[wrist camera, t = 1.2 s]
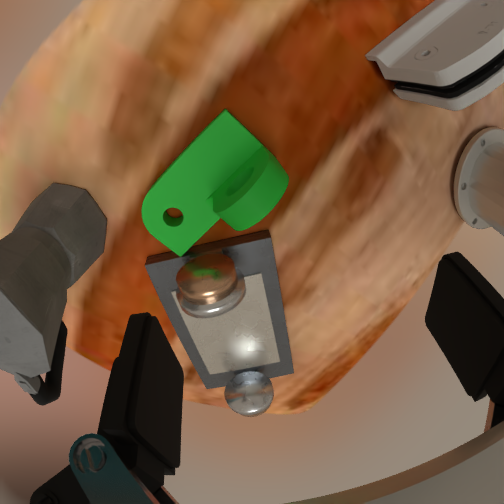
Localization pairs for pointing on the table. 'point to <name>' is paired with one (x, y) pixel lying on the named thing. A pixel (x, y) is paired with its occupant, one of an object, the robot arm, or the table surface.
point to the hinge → (446, 53)
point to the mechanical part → (214, 185)
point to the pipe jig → (228, 315)
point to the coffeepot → (44, 284)
